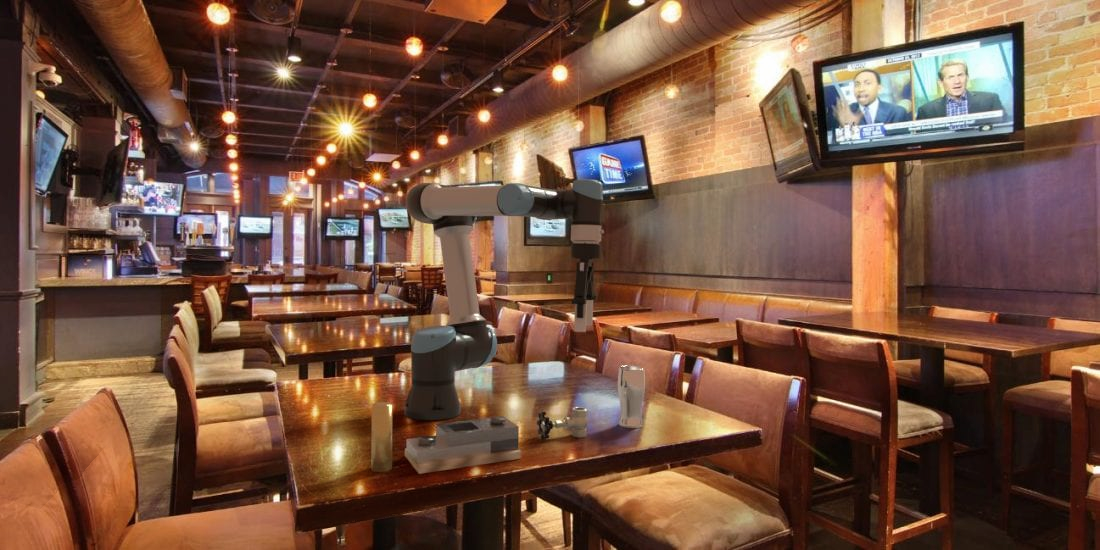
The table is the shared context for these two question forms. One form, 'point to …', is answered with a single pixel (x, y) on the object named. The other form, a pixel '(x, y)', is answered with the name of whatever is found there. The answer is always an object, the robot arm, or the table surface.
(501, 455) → the board
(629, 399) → the beer glass
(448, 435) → the stepped bolted base plate
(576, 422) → the valve
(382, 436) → the brass pin
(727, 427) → the table surface
